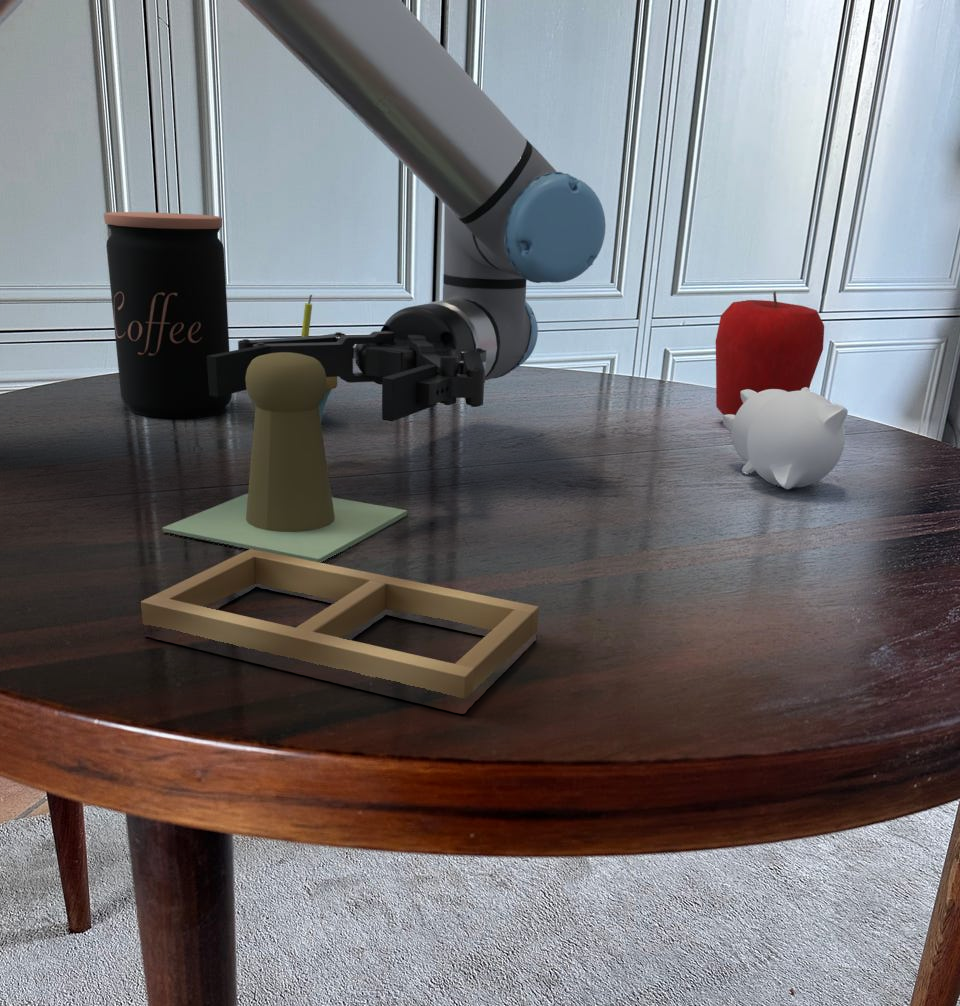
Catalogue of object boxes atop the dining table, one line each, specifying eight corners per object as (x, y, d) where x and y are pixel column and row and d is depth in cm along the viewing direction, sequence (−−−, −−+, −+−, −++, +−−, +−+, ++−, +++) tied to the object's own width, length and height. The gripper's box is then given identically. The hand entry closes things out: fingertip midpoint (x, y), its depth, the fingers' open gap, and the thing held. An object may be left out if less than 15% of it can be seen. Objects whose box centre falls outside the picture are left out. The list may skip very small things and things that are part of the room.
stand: (143, 637, 52) (140, 601, 52) (251, 580, 61) (250, 548, 60) (463, 716, 46) (465, 676, 45) (536, 640, 54) (539, 605, 54)
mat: (162, 533, 68) (161, 527, 67) (266, 490, 78) (266, 485, 78) (319, 564, 63) (318, 558, 63) (407, 515, 74) (407, 510, 73)
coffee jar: (99, 412, 100) (78, 212, 92) (161, 394, 109) (146, 211, 102) (197, 424, 97) (182, 219, 90) (252, 404, 106) (243, 217, 99)
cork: (294, 500, 74) (290, 344, 70) (353, 519, 71) (352, 356, 66) (227, 517, 70) (217, 352, 66) (286, 537, 67) (280, 365, 62)
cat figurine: (754, 354, 89) (818, 374, 78) (838, 421, 93) (910, 449, 82) (692, 438, 91) (746, 469, 80) (777, 501, 95) (839, 538, 84)
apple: (702, 431, 104) (721, 291, 98) (706, 412, 113) (724, 283, 108) (810, 442, 102) (835, 299, 96) (805, 421, 111) (828, 290, 105)
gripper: (573, 412, 83) (465, 469, 65) (309, 378, 92) (151, 420, 74) (580, 316, 80) (470, 348, 62) (307, 290, 89) (141, 312, 71)
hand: (296, 387), depth 68 cm, fingers open, 13 cm apart
